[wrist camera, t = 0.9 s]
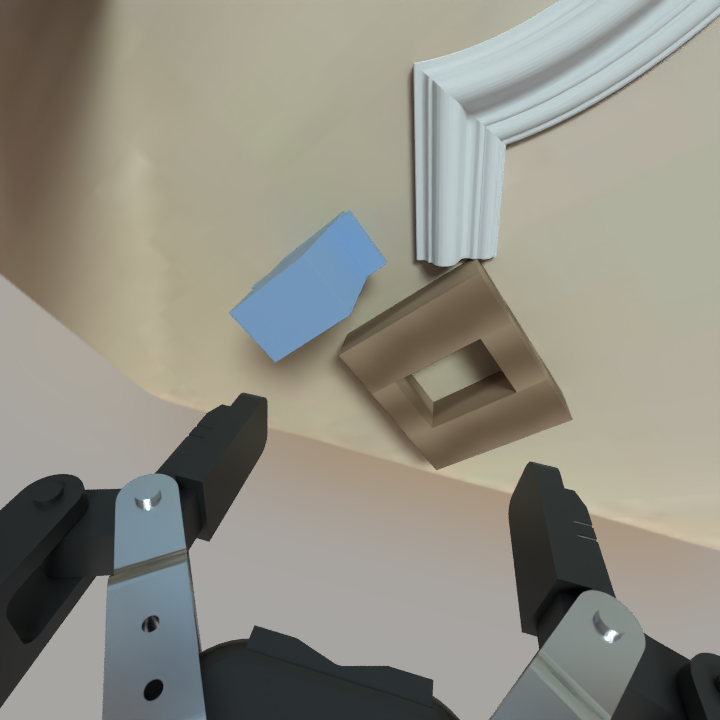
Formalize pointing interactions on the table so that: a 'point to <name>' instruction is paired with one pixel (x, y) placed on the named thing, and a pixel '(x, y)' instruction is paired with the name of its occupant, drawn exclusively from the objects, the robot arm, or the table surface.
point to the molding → (523, 104)
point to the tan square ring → (440, 338)
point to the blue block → (310, 288)
